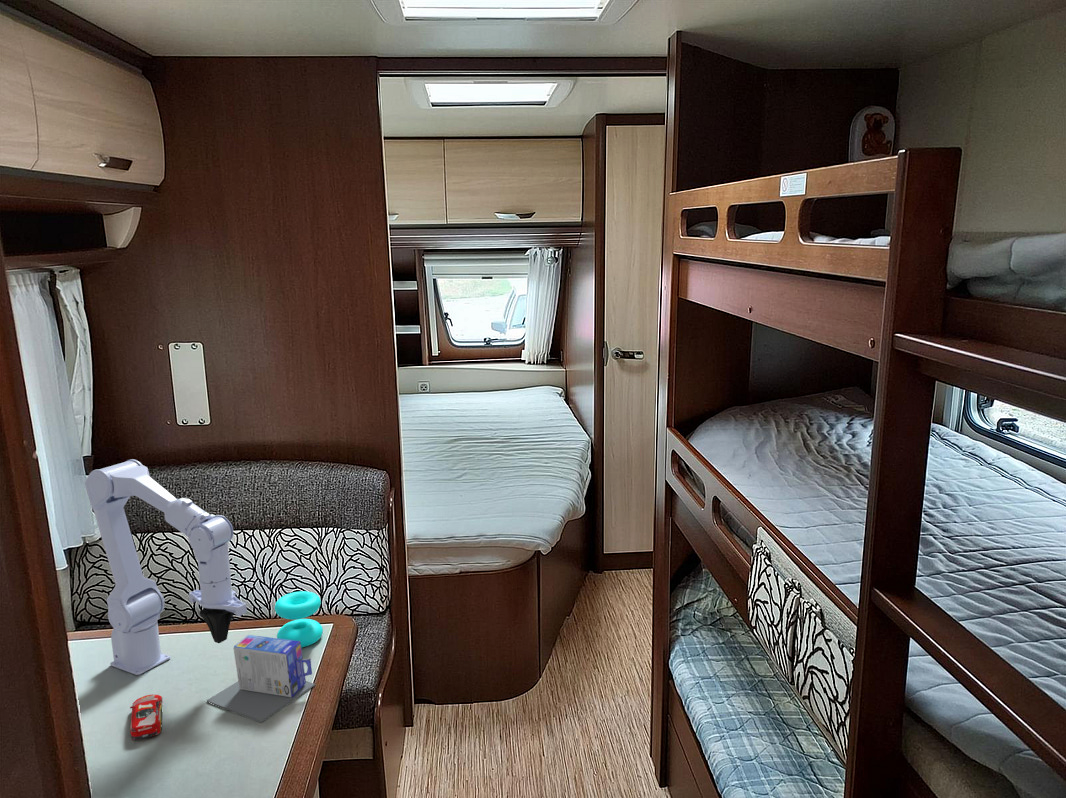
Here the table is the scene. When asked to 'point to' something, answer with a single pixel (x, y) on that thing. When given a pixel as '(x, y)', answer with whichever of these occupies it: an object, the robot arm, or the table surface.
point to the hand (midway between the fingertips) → (220, 640)
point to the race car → (146, 717)
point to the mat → (254, 701)
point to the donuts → (299, 617)
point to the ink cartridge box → (270, 665)
